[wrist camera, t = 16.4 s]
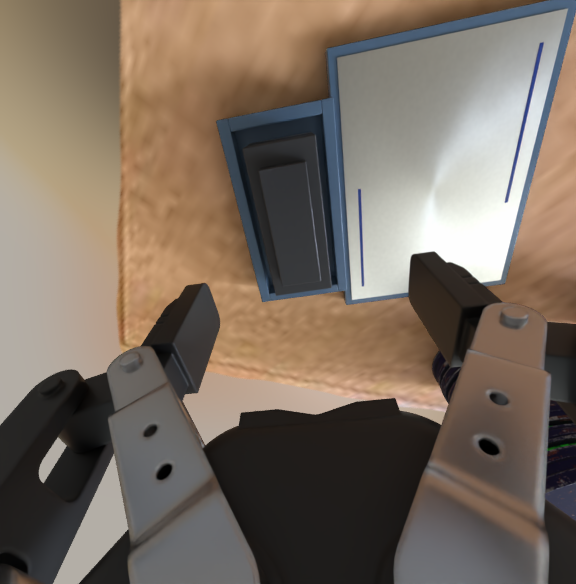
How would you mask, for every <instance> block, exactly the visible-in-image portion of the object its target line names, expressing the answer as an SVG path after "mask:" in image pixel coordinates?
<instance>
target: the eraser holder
mask: <svg viewBox="0 0 576 584" xmlns="http://www.w3.org/2000/svg"><path fill="white" fill-rule="evenodd" d="M216 123H217V127H218V130H219V134H220V138H221V142H222V146H223V150H224V154H225V158H226V162H227V166H228V169H229V173H230V177H231V181H232V185H233V189H234V193H235V197H236V201H237V205H238V209H239V212H240V216H241V220H242V224H243V228H244V232H245V236H246V240H247V244H248V248H249V251H250V255H251V259H252V263H253V267H254V271H255V275H256V279H257V283H258V287H259V290H260V294H261V298H262V302H267V301H273V300H281V299H288V298H295V297H302V296H310V295H317V294H324V293H331V292H338V291H346V290H347V282H346V268H345V254H344V240H343V225H342V211H341V197H340V183H339V169H338V155H337V141H336V126H335V112H334V98H333V97H331V98H326V99H322V100H316V101H311V102H306V103H301V104H296V105H291V106H286V107H282V108H277V109H272V110H267V111H262V112H257V113H252V114H247V115H242V116H237V117H232V118H227V119H222V120H217V121H216ZM307 132H312V133H313V134H315V135H316V143H317V152H318V161H319V171H320V180H321V190H322V199H323V209H324V218H325V228H326V237H327V247H328V256H329V265H330V275H331V284H332V288H328V289H321V290H314V291H307V292H300V293H293V294H286V295H279V296H276V295H275V290H274V286H273V281H272V277H271V273H270V268H269V264H268V259H267V255H266V251H265V246H264V242H263V238H262V233H261V229H260V224H259V220H258V216H257V211H256V207H255V202H254V198H253V194H252V189H251V185H250V180H249V176H248V172H247V167H246V163H245V159H244V154H243V148H244V147H246V146H247V145H249V144H250V143H256V142H261V141H266V140H271V139H276V138H281V137H286V136H292V135H297V134H302V133H307Z"/></svg>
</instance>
